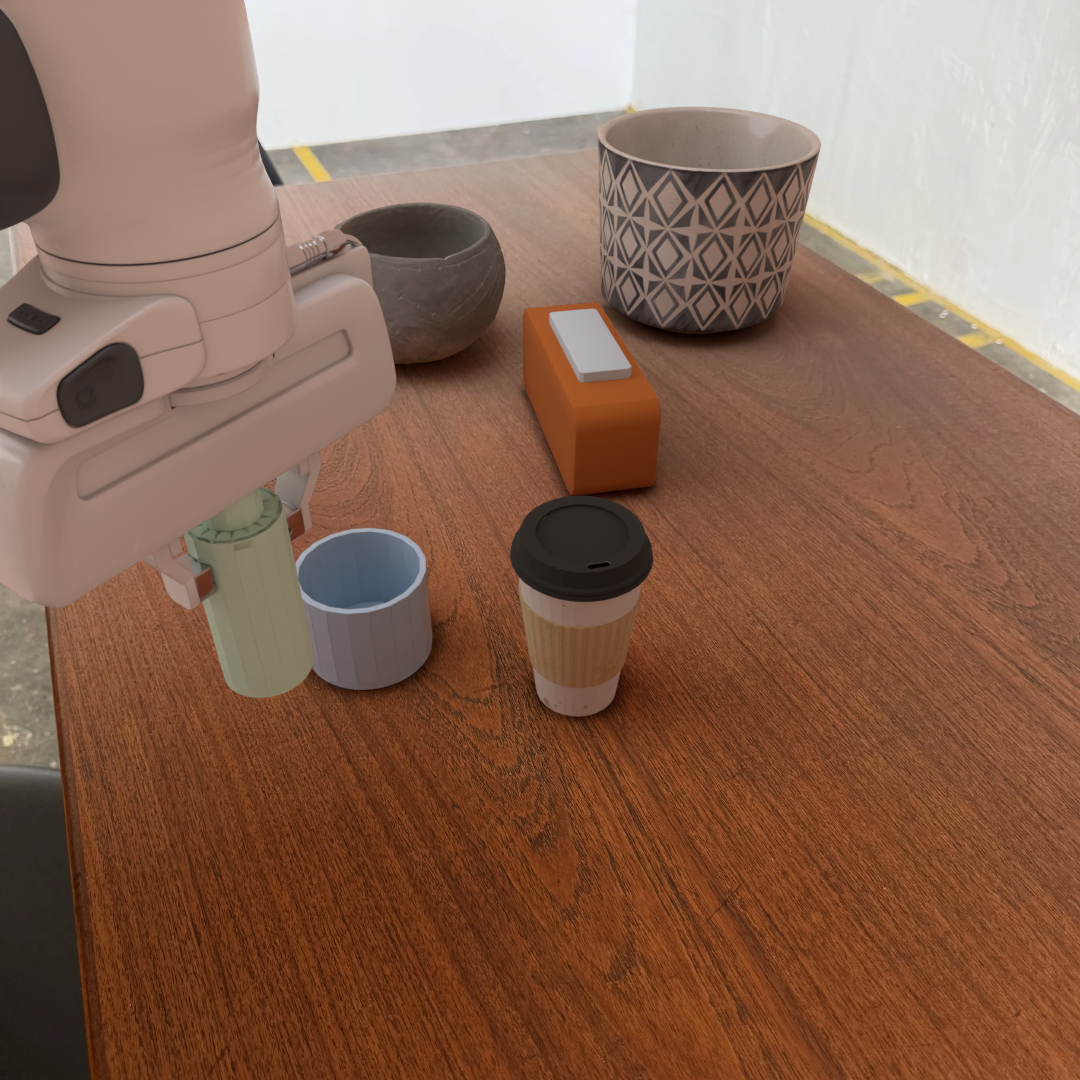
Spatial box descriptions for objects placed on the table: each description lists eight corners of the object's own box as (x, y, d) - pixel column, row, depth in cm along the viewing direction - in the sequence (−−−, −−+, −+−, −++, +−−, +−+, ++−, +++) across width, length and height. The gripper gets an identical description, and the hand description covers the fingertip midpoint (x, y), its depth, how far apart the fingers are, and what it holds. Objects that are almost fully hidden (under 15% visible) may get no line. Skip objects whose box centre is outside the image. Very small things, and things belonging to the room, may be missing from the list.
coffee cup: (616, 631, 79) (627, 481, 70) (658, 720, 72) (677, 565, 62) (499, 653, 77) (494, 501, 68) (530, 747, 70) (530, 591, 60)
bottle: (233, 709, 48) (173, 498, 40) (216, 650, 52) (158, 444, 44) (323, 681, 50) (282, 473, 42) (301, 626, 53) (260, 422, 45)
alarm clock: (655, 494, 94) (665, 392, 87) (572, 505, 93) (575, 402, 86) (592, 377, 113) (596, 285, 106) (522, 384, 111) (521, 291, 104)
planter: (700, 256, 142) (718, 96, 128) (832, 322, 125) (869, 145, 111) (552, 296, 130) (555, 125, 117) (675, 375, 113) (695, 185, 100)
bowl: (452, 298, 130) (446, 185, 120) (540, 359, 116) (541, 237, 107) (305, 338, 120) (286, 218, 111) (382, 409, 107) (368, 280, 97)
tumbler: (326, 706, 73) (311, 629, 68) (293, 623, 80) (278, 547, 75) (450, 666, 76) (445, 589, 71) (409, 590, 83) (401, 515, 78)
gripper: (313, 202, 46) (348, 447, 55) (-124, 370, 33) (12, 658, 41) (413, 231, 43) (433, 485, 52) (-22, 427, 30) (101, 723, 39)
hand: (243, 564), depth 47 cm, fingers closed on bottle, 4 cm apart
